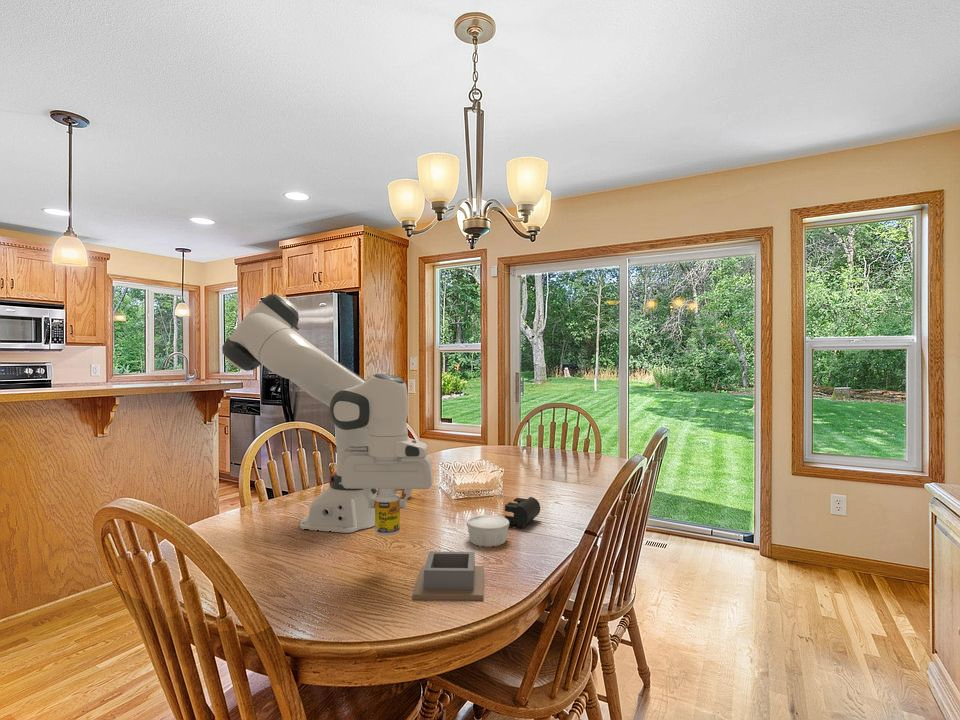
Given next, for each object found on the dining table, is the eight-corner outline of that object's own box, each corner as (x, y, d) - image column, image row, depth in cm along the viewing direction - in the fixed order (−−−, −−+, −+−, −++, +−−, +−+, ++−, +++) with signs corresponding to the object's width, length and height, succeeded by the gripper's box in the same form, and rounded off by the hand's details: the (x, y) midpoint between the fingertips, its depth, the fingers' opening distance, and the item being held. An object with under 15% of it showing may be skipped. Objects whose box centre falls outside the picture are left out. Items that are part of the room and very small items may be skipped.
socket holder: (412, 599, 103) (412, 574, 102) (421, 570, 117) (421, 548, 116) (483, 600, 102) (483, 575, 102) (483, 570, 116) (483, 548, 116)
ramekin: (480, 531, 143) (480, 512, 143) (516, 538, 137) (516, 518, 137) (458, 543, 133) (458, 523, 133) (496, 552, 128) (496, 530, 128)
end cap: (527, 531, 143) (527, 506, 143) (504, 527, 146) (504, 503, 146) (540, 520, 152) (540, 497, 152) (518, 517, 155) (518, 494, 155)
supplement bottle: (375, 537, 113) (375, 490, 113) (374, 529, 119) (374, 484, 119) (401, 535, 115) (400, 489, 115) (398, 527, 120) (398, 483, 120)
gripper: (337, 448, 113) (337, 511, 114) (431, 449, 114) (430, 512, 114) (345, 443, 120) (344, 503, 120) (434, 444, 120) (433, 504, 120)
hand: (387, 507), depth 117 cm, fingers closed on supplement bottle, 5 cm apart
